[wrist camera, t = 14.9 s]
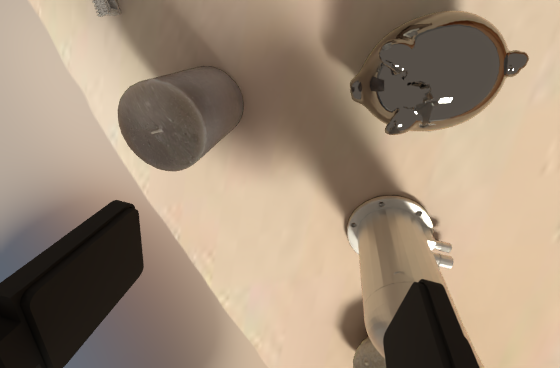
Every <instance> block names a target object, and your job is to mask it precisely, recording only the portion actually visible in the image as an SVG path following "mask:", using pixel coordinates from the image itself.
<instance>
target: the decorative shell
mask: <svg viewBox="0 0 560 368" xmlns="http://www.w3.org/2000/svg"><path fill="white" fill-rule="evenodd" d="M353 368H386V361H385V358H384V357H383V356H382V355H381V354H380V353H379V352H378V351H377V349H376V348H375V347H374V345H373V344H372V342H371V340H370V338H369V337H368V338H366V339H364V340H363V341H362V343H361V344H360V346H359V347H357V350H356V353H355V356H354V359H353Z"/></svg>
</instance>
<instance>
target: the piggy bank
mask: <svg viewBox="0 0 560 368" xmlns="http://www.w3.org/2000/svg"><path fill="white" fill-rule="evenodd" d="M528 60H529V57H528V55H527V53H525V52H521V51H518V50H513V51H509V50H508V47H507V44H506V42H505V40H504V38H503V36H502V34H501V33H500V32H499V30H498V29H497V28H496V27H495V26H494V25H493V24H492V23H490V22H489V21H488V20H486V19H484V18H483V17H480V16H478V15H476V14H473V13H469V12H464V11H442V12H436V13H431V14H428V15H424V16H421V17H419V18H416V19H413V20H411V21H409V22H407V23H405V24H403V25H401V26H399V27H398V28H396V29H395V30H393V31H392V32H390V33H389V34H388V35H387V36H385V37H384V38H383V39H382V40H381V41H380V42H379V43H378V44H377V45H376V46H375V48H374V49H373V50H372V52H371V53H370V54H369V56H368V58H367V59H366V61H365V63H364V65H363V67H362V68H361V70H360V72H359V73H358V74H357V75H356V76H355V77H354V78H353V79H352V80H351V82H350V92H351V96H352V99H353V101H355V102H358V103H360V104H362V105H363V106H365V107H366V108H367V109H368V110H369V111H370V112H371V113H372V114H373V115H374V116H375V117H376V118H377V119H379V120H380V121H382V122H383V123H385V124H387V126H386V128H385V133H387V134H389V135H398V134H403V133H406V132H408V131H434V130H440V129H445V128H449V127H453V126H456V125H459V124H461V123H463V122H466V121H468V120H469V119H471V118H473V117H474V116H476V115H477V114H479V113H480V112H481V111H483V110H484V109H485V108H486V107H487V106H488V105H489V104H490V103H491V102H492V101H493V100H494V98H495V97H496V96H497V94H498V93H499V91H500V90H501V88H502V86H503V84H504V82H505V80H506V78H507V77H513V76H516V75H517V74H518V73H519V72H520V70H521V69H522V68H524V67H525V66H526V64H527V62H528Z"/></svg>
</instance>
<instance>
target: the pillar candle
mask: <svg viewBox="0 0 560 368" xmlns="http://www.w3.org/2000/svg"><path fill="white" fill-rule="evenodd" d="M242 113H243V98H242V94H241V91H240V89H239V87H238V86H237V84H236V83H235V82H234V81H233V80H232V79H231V77H230V76H228V75H227V74H226V73H225V72H223V71H222V70H220V69H217V68H214V67H197V68H193V69H189V70H184V71H181V72H177V73H174V74H169V75H164V76H160V77H156V78H153V79H148V80H144V81H141V82H138V83H136V84H134V85H132V86H130V87H129V88H128V89H127V90H126V91H125V93H124V94H123V95H122V97H121V99H120V101H119V106H118V121H119V127H120V129H121V133H122V135H123V137H124V139H125V140H126V142H127V144H128V146H129V147H130V148H131V150H132V151H133V152H134V153H135V154H136V155H137V156H138V157H139V158H141V159H142V160H143V161H145V162H146V163H147V164H149V165H152V166H153V167H155V168H157V169H161V170H165V171H180V170H183V169H186V168H188V167H190V166H192V165H193V164H194V163H196V162H197V161H198V160H199V159H200V158H201V157H203V156H204V155H205V154H206V153H207V152H208V151H209V150H210V149H211V148H212V147H214V146H215V145H216V144H217V143H218V142H219V141H220V140H221V139H222V138H224V137H225V136H226V135H227V134H228V133H229V132H230V131H231V130H232V129H233V128H234V127H235V126H236V125H237V124H238V123H239V121H240V119H241V116H242Z"/></svg>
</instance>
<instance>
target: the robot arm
mask: <svg viewBox="0 0 560 368" xmlns="http://www.w3.org/2000/svg"><path fill="white" fill-rule="evenodd" d="M347 236H348V241H349V243H350V245H351V247H352V248H353V249H354V251H355V252H356V253H357V254H358V255H359V261H360V273H361V285H362V297H363V310H364V322H365V327H366V331H367V334H368V336H369V338H370V340H371V342H372V344H373V345H374V347H375V348H376V349H377V351H378V352H379V353H380V354H381V355H382V356H383V357H384V358H385V361H386V368H484V366H483V364H482V362H481V360H480V359H479V357H478V355H477V353H476V351H475V349H474V347H473V345H472V343H471V341H470V338H469V336H468V334H467V332H466V330H465V328H464V326H463V323H462V321H461V319H460V316H459V314H458V312H457V309H456V307H455V305H454V302H453V300H452V298H451V295H450V293H449V290H448V288H447V286H446V283H445V281H444V279H443V276H442V274H441V271H440V269H439V267H442V268H446V269H451V268H452V266H453V258H452V257H451V256H447V255H443V254H437V253H433V252H432V250H433V249H437V250H439V251H443V252H447V253H449V252H450V251H451V249H452V245H451V244H450V243H446V242H442V241H441V242H440V241H436V240H435V238H433V224H432V221H431V219H430V217H429V215H428V213H427V212H426V210H425V209H424V208H423V207H422V206H421V205H419V204H418V203H416V202H415V201H413V200H410V199H408V198H404V197H400V196H381V197H377V198H373V199H371V200H369V201H366V202H365V203H363V204H362V205H360V206H359V207H358V208H357V209H356V210H355V211H354V212H353V213H352V215H351V216H350V219H349V221H348V225H347ZM142 271H143V254H142V244H141V233H140V223H139V213H138V210H136V209H135V207H134V205H133V204H130V203H126V202H122V201H119V200H115V201H112V202H111V203H109V204H108V205H107V206H105V207H104V208H102V209H101V210H100V211H98V212H97V213H96V214H94V215H93V216H92V217H90V218H89V219H87V220H86V221H85V222H83V223H82V224H81V225H79V226H78V227H76V228H75V229H74V230H72V231H71V232H70V233H68V234H67V235H65V236H64V237H63V238H61V239H60V240H59V241H57V242H56V243H54V244H53V245H52V246H50V247H49V248H48V249H46V250H45V251H44V252H42V253H41V254H39V255H38V256H37V257H35V258H34V259H33V260H31V261H30V262H28V263H27V264H26V265H24V266H23V267H22V268H20V269H19V270H17V271H16V272H15V273H13V274H12V275H11V276H9V277H8V278H6V279H5V280H4V281H3V282H1V283H0V368H63V367H64V366H65V365H66V364H67V363H68V362H69V360H70V359H71V358H72V357H73V356H74V354H75V353H76V352H77V351H78V350H79V348H80V347H81V346H82V345H83V343H84V342H85V341H86V340H87V339H88V337H89V336H90V335H91V334H92V333H93V331H94V330H95V329H96V328H97V327H98V325H99V324H100V323H101V322H102V321H103V319H104V318H105V317H106V316H107V315H108V313H109V312H110V311H111V310H112V309H113V307H114V306H115V305H116V304H117V303H118V301H119V300H120V299H121V298H122V297H123V296H124V294H125V293H126V292H127V291H128V289H129V288H130V287H131V286H132V285H133V284H134V282H135V281H136V280H137V279H138V278H139V276H140V274H141V273H142Z"/></svg>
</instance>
